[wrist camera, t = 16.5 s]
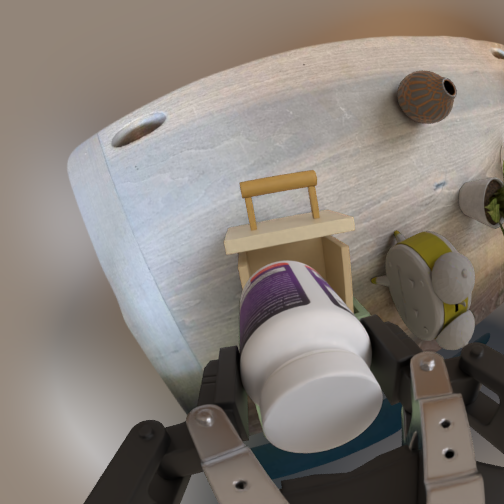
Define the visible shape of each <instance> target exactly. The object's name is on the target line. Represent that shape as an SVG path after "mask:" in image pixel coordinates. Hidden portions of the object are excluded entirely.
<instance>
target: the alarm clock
mask: <svg viewBox="0 0 504 504" xmlns="http://www.w3.org/2000/svg"><path fill="white" fill-rule="evenodd" d="M394 236H395V238H396V240H397V244H396V245H394V246H393V247H392V248H390V250H389V252H388V254H387V257H386V260H385V268H386V275H385V276H380V277H375V278H372V280H371V282H372V283H373V284H379V285H384V286H388V287H389V290H390V293H391V296H392V299H393V302H394V304H395V306H396V309H397V311H398V313H399V314H400V316H401V318H402V320H403V321H404V323H405V324H406V326H407V327H408V328H409V329H410V331H411V332H412V333H413V334H414V335H415V336H417V337H418V338H420V339H422V340H428V341H430V340H433V339H436V338H437V339H436V341H437V343H438V345H440V346H441V347H442V348H444V349H448V350H456V349H459V348H461V347H462V348H463V347H464V346H466V345H467V344H468V341H469V340H470V339H471V337H472V334H473V331H474V326H475V322H474V317H473V314H472V312H471V311H469V307H470V304H471V292H472V289H473V287H474V282H475V273H474V268H473V266H472V264H471V262H470V261H469V259H468V258H467V257H465V256H464V255H462V254H460V253H458V251H457V250H456V249H455V248H454V246H453V245H452V244H451V243H450V242H449V241H448V240H447V239H446V238H444V237H443V236H442V235H439V234H437V233H435V232H430V231H426V232H421V233H418V234H416V235H414V236H412V237H410V238H408V239H406V238H405V237H404V236H403V235H402V234H401V233H400V232H399V231H397V230H396V231H395V232H394Z"/></svg>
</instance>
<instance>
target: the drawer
mask: <svg viewBox="0 0 504 504" xmlns="http://www.w3.org/2000/svg"><path fill="white" fill-rule="evenodd" d="M316 185H317V176H316V173H315V171H314V170H310V171H303V172H297V173H290V174H284V175H278V176H272V177H266V178H261V179H255V180H250V181H245V182H240V189H241V194H242V198H245V203H246V208H247V213H248V218H249V223H250V224H246V225H241V226H235V227H230V228H228V231H227V233H226V236H225V239H224V246H225V251H226V255H229V254H234V253H239V257H238V271H239V276H240V280H241V285H242V290H243V288H244V286H245V285H246V283H247V281H248V280H249V278H250V277H251V276H252V275H253V274H254V273H255V272H256V271H258V270H259V269H261V268H262V267H264V266H266V265H268V264H271V263H274V262H278V261H297V262H300V263H303V264H306V265H308V266H310V267H311V268H313V269H314V270H315V271H316V272H318V273H319V274H320V275H321V276H322V277H323V279H324V280H325V281H326V282H327V283H328V284H329V286H330V287H331V288H332V289H333V290H334V291H335V292H336V294H337V295H338V296H339V297H340V298H341V299H342V301H343V302H344V303H345V304H346V305H347V307H348V308H349V309H350V310H351V311H352V313H353V314H354V310H353V291H352V277H351V264H350V253H349V246H348V245H346V244H344V243H343V242H341V241H339V240H338V239H336V238H334V237H332V236H331V235H333V234H338V233H344V232H349V231H354V230H355V224H354V217H351V216H348V215H345V214H341V213H338V212H334V211H331V210H322V211H319V208H318V202H317V196H316V190H315V186H316ZM304 187H308V192H309V198H310V204H311V210H312V212H311V213H305V214H299V215H294V216H288V217H283V218H277V219H272V220H267V221H261V222H256V220H255V214H254V209H253V204H252V199H251V197H253V196H258V195H264V194H269V193H275V192H281V191H286V190H292V189H298V188H304Z"/></svg>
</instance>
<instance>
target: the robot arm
mask: <svg viewBox="0 0 504 504" xmlns="http://www.w3.org/2000/svg"><path fill="white" fill-rule="evenodd" d="M360 323H361V324H362V325H363V327H364V328H365V330H366V332H367V334H368V336H369V339H370V342H371V347H372V361H371V366H370V371H371V372H372V374H373V375H374V377H375V379H376V380H377V382H378V384H379V385H380V388H381V389H382V391H383V392H384V394H385V395H386V397H387V399H388V400H389V402H390V404H391V405H394V404H396V403H399V402H401V404H402V405H403V406H402V410H401V418H402V446H401V447H399V448H396V449H394V450H392V451H389V452H387V453H384V454H381V455H379V456H377V457H376V458H374V459H372V460H371V461H369V462H367V463H365V464H364V465H362V466H360V467H358V468H357V469H355V470H353V471H351V472H347V473H336V474H318V475H310V476H305V477H301V478H295V479H290V480H283V481H281V485H282V489H279V490H278V488H277V487H276V486H275V484H274V483H273V482H272V480H271V479H270V477H269V476H268V474H267V473H266V472H265V470H264V469H263V467H262V466H261V464H260V463H259V462H258V460H257V459H256V457H255V456H254V454H253V453H252V451H251V450H250V448H249V447H248V446H245V444H244V443H243V441H247V440H249V433H248V401H247V393H246V391H245V389H244V387H243V384H242V380H241V375H240V353H239V350H238V347H237V346H231V347H225V348H220V352H219V360H212V361H210V362H209V363H208V364H207V366H206V367H205V368H204V372H203V378H202V384H201V388H200V394H199V399H198V405H197V408H195V409H193V410H192V411H191V412H190V413H189V414H188V416H187V418H186V421H185V422H183V423H180V424H177V425H173V426H170V427H166V428H165V427H164V426H163V425H162V423H160V422H158V421H155V420H146V421H142V422H140V423H138V424H137V425H135V426H134V427H133V428H132V429H131V431H130V432H129V434H128V435H127V437H126V439H125V440H124V442H123V443H122V445H121V446H120V448H119V449H118V451H117V452H116V454H115V456H114V457H113V459H112V460H111V462H110V463H109V465H108V466H107V468H106V469H105V471H104V473H103V474H102V476H101V477H100V479H99V480H98V482H97V484H96V485H95V487H94V488H93V490H92V492H91V493H90V495H89V496H88V498H87V499H86V501H85V502H84V504H180V502H181V500H182V497H183V495H184V492H185V490H186V488H187V485H188V483H189V480H190V477H191V475H192V474H196V473H200V472H203V471H204V473H205V476H206V478H207V480H208V482H209V484H210V486H211V488H212V491H213V493H214V495H215V497H216V499H217V501H218V503H219V504H504V467H500V466H495V465H491V464H486V463H482V462H478V461H476V460H475V454H474V448H473V443H472V437H471V431H470V427H472V428H473V429H474V430H475V431H477V432H478V433H479V434H480V435H481V436H483V437H484V438H485V439H486V440H487V441H489V442H490V443H491V444H492V445H494V446H495V447H496V448H497V449H498V450H500V451H501V452H502V453H503V454H504V355H502V354H501V353H499V352H497V351H495V350H494V349H492V348H490V347H488V346H486V345H485V344H482V343H470V344H467V345H466V346H464V347H463V349H462V351H461V355H460V356H459V357H455V358H449V359H443V357H442V356H441V355H439V354H437V353H435V352H423V351H422V350H421V349H420V348H419V347H418V345H417V344H416V343H415V342H414V341H413V340H412V339H411V338H410V337H408V335H407V334H406V333H405V332H403V330H402V329H401V328H400V327H399V326H398V325H395V324H393V323H391V322H385V323H384V322H383V321H382V320H381V319H380V318H379V317H378V316H377V315H376V314H375V315H371V316H368V317H364V318H361V319H360ZM482 384H483V385H484V386H486V387H487V388H489V389H490V390H492V391H493V392H494V393H496V394H497V395H498V396H499V398H500V404H498V403H496V402H495V401H494V400H492V399H491V398H489V397H488V396H486V395H485V394H483V393H482V392H481V391H480V388H481V386H482ZM469 426H470V427H469Z"/></svg>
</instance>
